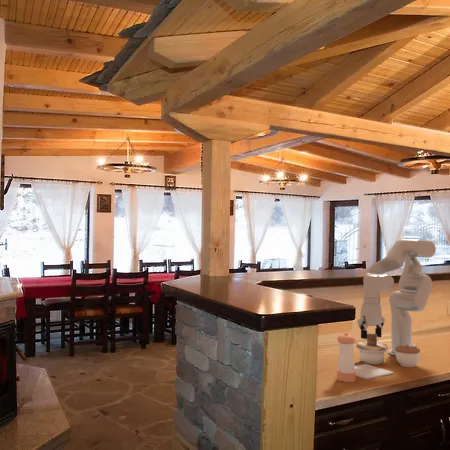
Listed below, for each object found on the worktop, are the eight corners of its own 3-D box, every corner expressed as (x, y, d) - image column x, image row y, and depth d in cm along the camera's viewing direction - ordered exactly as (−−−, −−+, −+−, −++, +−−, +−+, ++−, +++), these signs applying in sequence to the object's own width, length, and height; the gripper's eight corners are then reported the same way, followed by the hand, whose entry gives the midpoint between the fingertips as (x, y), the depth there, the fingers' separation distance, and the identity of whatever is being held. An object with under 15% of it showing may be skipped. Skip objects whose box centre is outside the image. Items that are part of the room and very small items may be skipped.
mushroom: (370, 357, 237) (370, 343, 237) (392, 363, 226) (392, 348, 226) (351, 361, 230) (351, 346, 230) (373, 367, 219) (373, 351, 219)
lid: (370, 342, 238) (370, 330, 238) (394, 348, 226) (394, 335, 226) (350, 346, 230) (350, 333, 231) (373, 352, 218) (373, 338, 219)
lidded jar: (408, 369, 216) (408, 348, 216) (390, 364, 225) (389, 343, 225) (425, 366, 221) (425, 346, 221) (406, 361, 230) (406, 341, 230)
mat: (365, 365, 223) (365, 363, 223) (394, 373, 209) (394, 372, 209) (338, 370, 214) (338, 368, 214) (366, 379, 200) (366, 378, 200)
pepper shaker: (341, 376, 205) (341, 330, 205) (357, 379, 201) (357, 332, 201) (334, 380, 199) (334, 333, 199) (351, 383, 195) (351, 335, 195)
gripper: (377, 299, 236) (377, 335, 236) (352, 300, 227) (352, 337, 226) (390, 301, 230) (390, 337, 229) (364, 302, 221) (364, 340, 220)
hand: (371, 337), depth 228 cm, fingers open, 9 cm apart
